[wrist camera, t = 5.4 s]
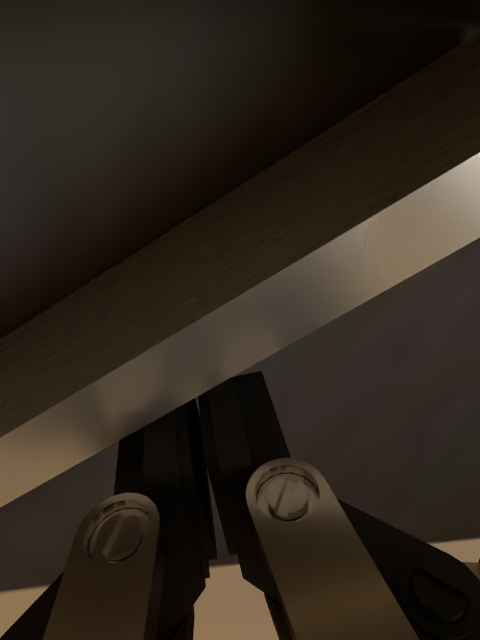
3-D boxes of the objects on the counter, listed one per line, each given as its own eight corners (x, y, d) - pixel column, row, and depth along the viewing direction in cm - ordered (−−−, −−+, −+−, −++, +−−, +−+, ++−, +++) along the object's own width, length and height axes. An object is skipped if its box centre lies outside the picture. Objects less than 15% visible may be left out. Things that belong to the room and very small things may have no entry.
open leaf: (486, 26, 9) (737, -1, 5) (497, 84, 9) (726, 98, 6) (-54, 374, 11) (-169, 538, 7) (-17, 401, 12) (-104, 565, 8)
